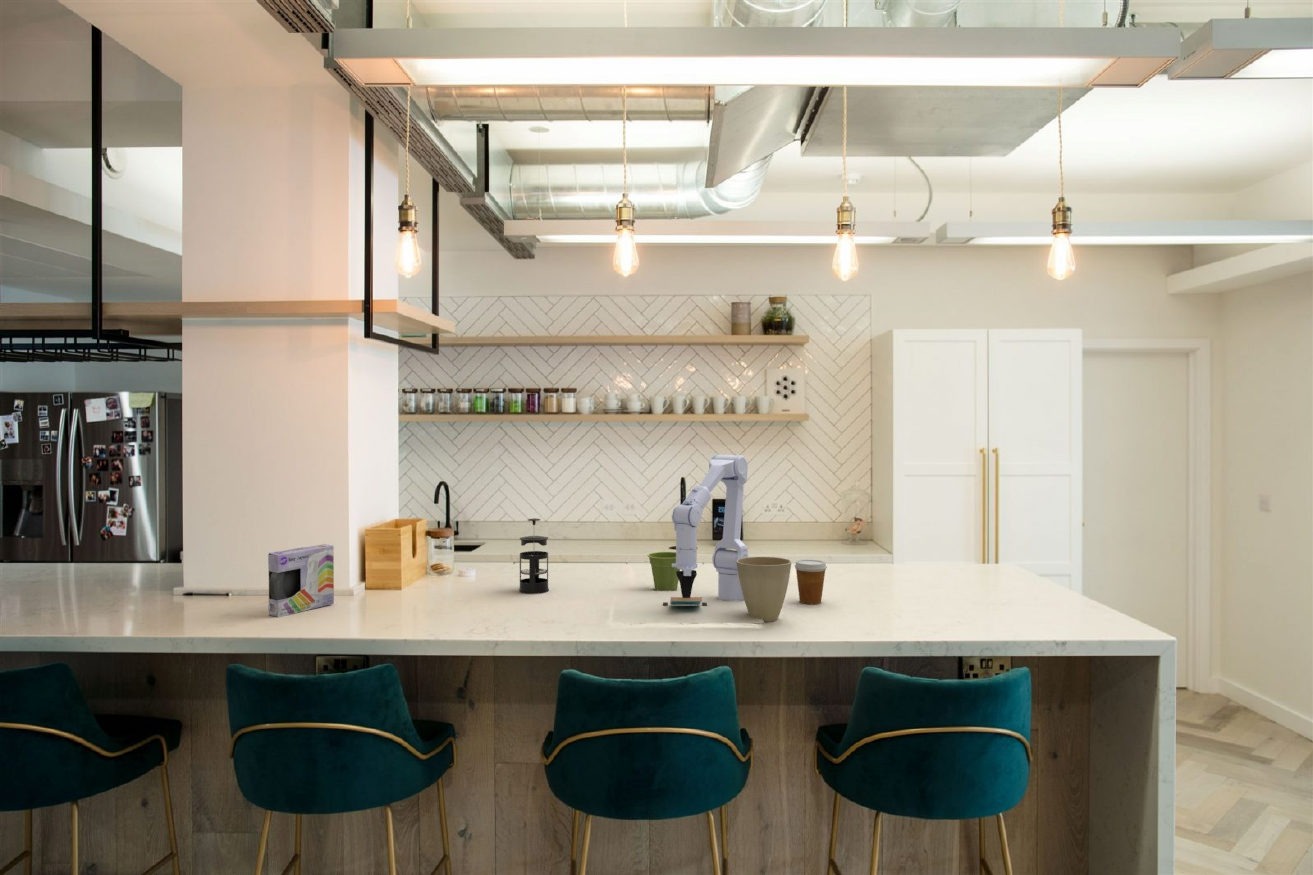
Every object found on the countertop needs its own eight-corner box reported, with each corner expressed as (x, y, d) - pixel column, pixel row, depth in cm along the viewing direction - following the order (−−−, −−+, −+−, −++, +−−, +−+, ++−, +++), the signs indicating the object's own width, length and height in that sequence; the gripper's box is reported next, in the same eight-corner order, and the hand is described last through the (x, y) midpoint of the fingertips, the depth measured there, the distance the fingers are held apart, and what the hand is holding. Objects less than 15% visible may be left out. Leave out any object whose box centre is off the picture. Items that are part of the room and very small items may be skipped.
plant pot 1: (645, 586, 264) (645, 551, 264) (681, 585, 266) (681, 551, 265) (649, 593, 253) (649, 557, 252) (686, 593, 254) (686, 557, 254)
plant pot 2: (780, 611, 229) (781, 555, 229) (798, 624, 214) (799, 564, 214) (729, 613, 226) (730, 556, 226) (744, 626, 212) (745, 566, 211)
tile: (699, 600, 231) (701, 597, 223) (700, 605, 231) (701, 601, 222) (670, 600, 231) (670, 597, 223) (670, 605, 231) (670, 601, 222)
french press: (547, 594, 251) (547, 520, 251) (516, 594, 251) (516, 520, 250) (550, 586, 263) (550, 516, 262) (521, 586, 262) (521, 516, 262)
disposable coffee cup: (791, 603, 239) (791, 563, 238) (798, 597, 248) (798, 558, 247) (823, 606, 235) (823, 565, 235) (829, 600, 244) (829, 560, 244)
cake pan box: (274, 618, 219) (274, 553, 219) (263, 616, 221) (263, 552, 221) (335, 605, 235) (335, 544, 235) (324, 603, 238) (324, 543, 238)
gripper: (671, 544, 230) (671, 591, 230) (672, 552, 215) (672, 603, 215) (696, 544, 230) (695, 592, 230) (698, 552, 215) (698, 603, 215)
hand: (686, 597), depth 223 cm, fingers closed, pressing on tile
